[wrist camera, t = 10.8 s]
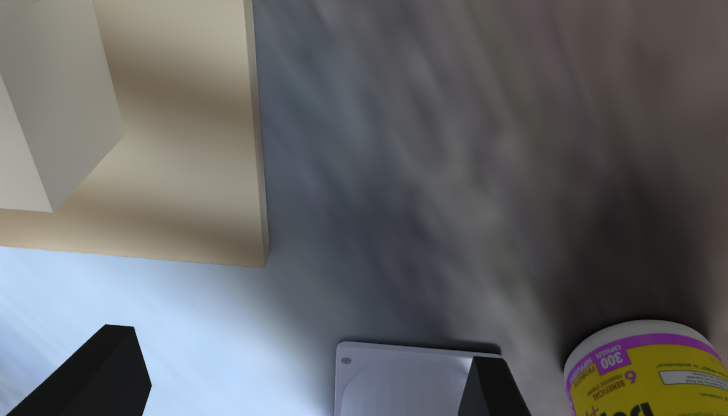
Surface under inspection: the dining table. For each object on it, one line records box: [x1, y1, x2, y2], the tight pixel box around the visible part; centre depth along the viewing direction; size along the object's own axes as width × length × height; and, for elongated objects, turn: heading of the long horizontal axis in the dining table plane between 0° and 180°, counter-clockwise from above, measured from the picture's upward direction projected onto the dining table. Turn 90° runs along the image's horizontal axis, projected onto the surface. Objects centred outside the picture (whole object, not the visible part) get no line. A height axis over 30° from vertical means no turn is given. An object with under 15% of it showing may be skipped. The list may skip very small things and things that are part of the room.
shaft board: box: [0, 0, 270, 268], centre depth 16 cm, size 16×14×4 cm
